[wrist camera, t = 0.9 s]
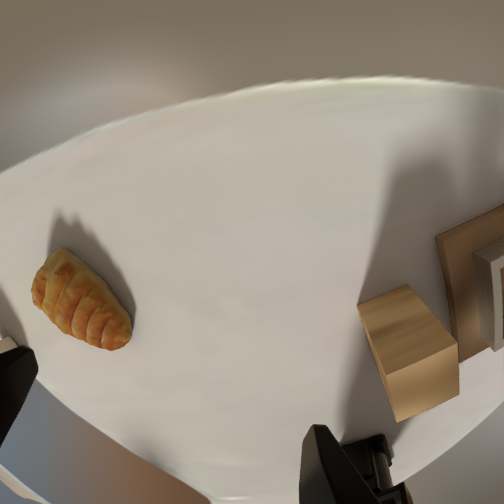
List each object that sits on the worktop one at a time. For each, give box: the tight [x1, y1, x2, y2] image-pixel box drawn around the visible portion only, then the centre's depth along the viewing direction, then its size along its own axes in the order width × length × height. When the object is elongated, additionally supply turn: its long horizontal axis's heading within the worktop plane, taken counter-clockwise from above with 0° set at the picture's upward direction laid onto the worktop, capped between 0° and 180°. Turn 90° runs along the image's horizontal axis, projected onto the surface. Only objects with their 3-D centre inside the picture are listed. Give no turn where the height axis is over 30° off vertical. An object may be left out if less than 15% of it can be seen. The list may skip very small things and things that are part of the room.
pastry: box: [31, 248, 132, 351], centre depth 22 cm, size 9×7×4 cm
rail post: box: [357, 284, 459, 422], centre depth 17 cm, size 4×4×8 cm
